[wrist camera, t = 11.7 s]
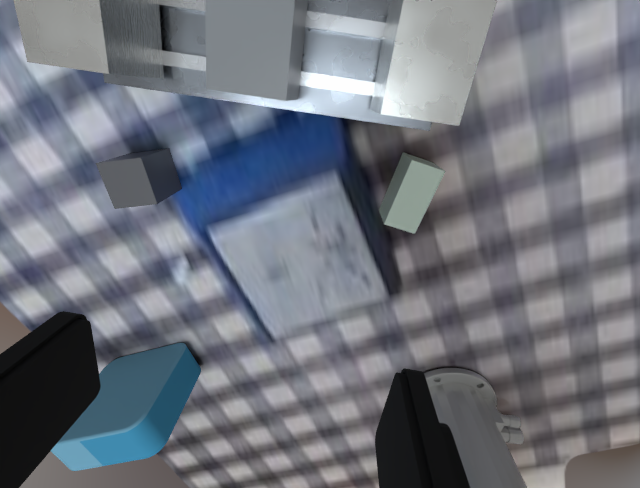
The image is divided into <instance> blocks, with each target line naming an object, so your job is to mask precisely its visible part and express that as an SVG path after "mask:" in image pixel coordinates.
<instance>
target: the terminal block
mask: <svg viewBox="0 0 640 488" xmlns="http://www.w3.org/2000/svg"><path fill="white" fill-rule="evenodd" d="M444 173H445V171H444V170H443V169H441V168H440V167H438V166H437V165H436V164H434V163H433V162H430V161H427V160H424V159H421V158H418V157H415V156H413V155H410V154H407V153H404V152H403V153H402V156H401V158H400V161H399V163H398V165H397V168H396V170H395V173H394V175H393V177H392V180H391V182H390V185H389V187H388V189H387V192H386V194H385V196H384V199H383V201H382V204H381V206H380V208H379V212H380V215H381V217H382V220H383V223H384V224H385V225H388V226H391V227H395V228H398V229H401V230H404V231H407V232H410V233H413V234H415V232H416V230H417V228H418V226H419V224H420V222H421V220H422V218H423V216H424V214H425V212H426V210H427V208H428V206H429V204H430V202H431V200H432V198H433V196H434V193H435V191H436V189H437V187H438V185H439V183H440V181H441V179H442V177H443V175H444Z"/></svg>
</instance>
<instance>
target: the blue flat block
mask: <svg viewBox="0 0 640 488" xmlns="http://www.w3.org/2000/svg"><path fill="white" fill-rule="evenodd" d="M200 372H201V368H200V366H199V365H198V363H197V362H196V360H195V359H194V357H193V356H192V354H191V352H190V351H189V349H188V348H187V346H186V345H185V344H184V343H176V344H172V345H168V346H164V347H160V348H156V349H152V350H148V351H144V352H140V353H136V354H132V355H128V356H124V357H120V358H117V359H115V360H114V361H112V362H111V363H109V364H108V365H107V366H106V367H105V368H104V369H103V370H102V371H101V373H100V374H99V378H100V384H101V387H100V391H99V393H98V395H97V397H96V398H95V399H94V401H93V402H92V403H91V404H90V405H89V406H88V408H87V409H86V410H85V411H84V412H83V413H82V415H81V416H80V417H79V418H78V419H77V420H76V422H75V423H74V424H73V425H72V426H71V427H70V429H69V430H68V431H67V432H66V433H65V434H64V436H63V437H62V438H61V439H60V440H59V441H58V443H57V444H56V445H55V446H54V447H53V448H52V450H51V452H52V453H53V454H55V455H56V456H57V457H58V458H59V459H60V460H61V461H62V462H63V463H64V464H65V465H66V466H67V467H68V468H69V469H70V470H72V471H78V470H84V469H89V468H94V467H100V466H106V465H111V464H117V463H122V462H128V461H134V460H139V459H145V458H148V457H151V456H153V455H155V454H156V453H158V452H159V451H160V450H161V449H162V448H163V447H164V445H165V444H166V443H167V441H168V439H169V437H170V435H171V433H172V431H173V429H174V426H175V424H176V422H177V420H178V418H179V416H180V414H181V412H182V410H183V408H184V406H185V404H186V402H187V400H188V398H189V396H190V394H191V391H192V389H193V387H194V385H195V383H196V381H197V379H198V377H199V375H200Z"/></svg>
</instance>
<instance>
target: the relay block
mask: <svg viewBox="0 0 640 488" xmlns="http://www.w3.org/2000/svg"><path fill="white" fill-rule="evenodd" d="M96 165H97V167H98V170H99V172H100V175H101V177H102V179H103V182H104V184H105V187H106V189H107V191H108V194H109V196H110V199H111V201H112V204H113V206H114V208H115V209H117V208H126V207H135V206H144V205H152V204H158V203H160V202H161V201H163V200H165V199H166V198H168V197H169V196H171V195H173V194H174V193H176V192H177V191H179V190H181V189H182V187H181V184H180V181H179V178H178V175H177V171H176V168H175V165H174V162H173V159H172V155H171V152H170V149H169V148H167V149H160V150H152V151H144V152H137V153H130V154H126V155H123V156H119V157H116V158H113V159H109V160H106V161H102V162H99V163H96Z"/></svg>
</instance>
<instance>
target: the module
mask: <svg viewBox="0 0 640 488" xmlns="http://www.w3.org/2000/svg"><path fill="white" fill-rule="evenodd" d="M307 5H308V0H205V27H206V89H210V90H217V91H223V92H230V93H236V94H243V95H249V96H256V97H262V98H269V99H275V100H282V101H290V100H297V99H298V95H299V85H300V75H301V65H302V55H303V45H304V35H305V25H306V15H307Z"/></svg>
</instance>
